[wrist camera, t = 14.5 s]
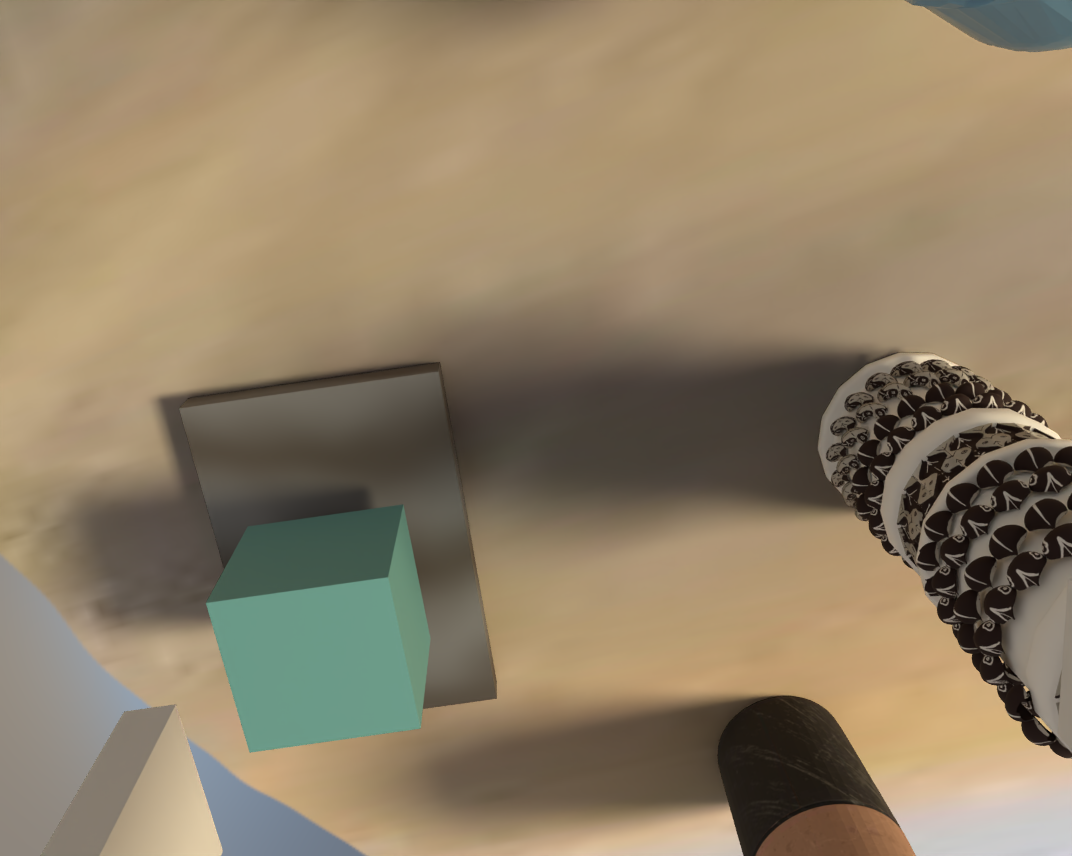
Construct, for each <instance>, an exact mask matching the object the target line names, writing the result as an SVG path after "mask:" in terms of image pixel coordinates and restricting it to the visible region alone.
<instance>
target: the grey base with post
mask: <svg viewBox="0 0 1072 856" xmlns="http://www.w3.org/2000/svg"><path fill="white" fill-rule="evenodd" d="M179 411H180V414H181V418H182V421H183V425H184V428H185V432H186V435H187V439H188V442H189V446H190V450H191V453H192V457H193V460H194V464H195V467H196V471H197V474H198V478H199V481H200V485H201V489H202V492H203V496H204V499H205V503H206V506H207V510H208V513H209V517H210V520H211V524H212V528H213V531H214V535H215V538H216V542H217V545H218V549H219V552H220V556H221V560H222V563H223V567H224V569H225V567H226V565H227V563H228V562H229V560H230V558H231V556H232V554H233V553H234V551H235V549H236V547H237V545H238V543H239V542H240V540H241V538H242V536H243V534H244V532H245V531H246V529H247V527H248V526H255V525H262V524H269V523H276V522H283V521H290V520H297V519H304V518H311V517H318V516H325V515H332V514H339V513H346V512H353V511H360V510H367V509H374V508H381V507H388V506H395V505H404V510H405V515H406V520H407V525H408V530H409V535H410V540H411V545H412V550H413V555H414V559H415V564H416V569H417V574H418V579H419V584H420V589H421V594H422V599H423V604H424V609H425V614H426V619H427V624H428V629H429V634H430V638H431V639H430V648H429V657H428V666H427V675H426V684H425V693H424V702H423V709H426V708H433V707H440V706H447V705H454V704H461V703H468V702H475V701H483V700H490V699H497V681H496V675H495V670H494V664H493V659H492V653H491V647H490V642H489V636H488V630H487V625H486V619H485V614H484V608H483V602H482V597H481V591H480V585H479V580H478V574H477V568H476V563H475V557H474V552H473V546H472V540H471V535H470V529H469V523H468V518H467V512H466V506H465V501H464V495H463V490H462V484H461V478H460V473H459V467H458V461H457V456H456V450H455V444H454V439H453V433H452V428H451V422H450V416H449V411H448V405H447V399H446V394H445V388H444V382H443V377H442V371H441V366H440V362H439V363H432V364H425V365H418V366H411V367H404V368H397V369H390V370H383V371H376V372H369V373H362V374H355V375H348V376H341V377H334V378H327V379H320V380H313V381H306V382H299V383H292V384H285V385H278V386H271V387H264V388H257V389H250V390H243V391H236V392H229V393H222V394H215V395H208V396H201V397H194V398H188V400H187V401H186V402H185V403H184V404H183V405H182V406H181V407H180V408H179Z"/></svg>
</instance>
